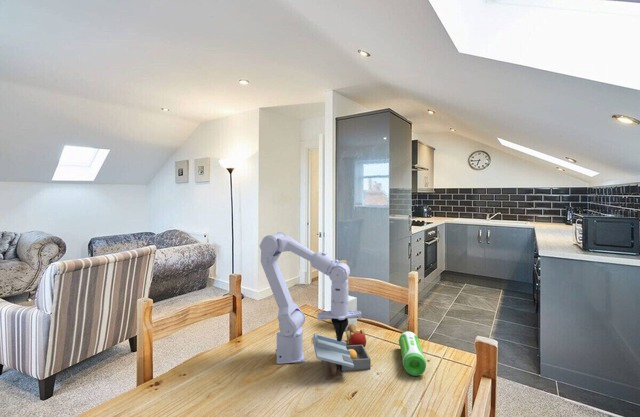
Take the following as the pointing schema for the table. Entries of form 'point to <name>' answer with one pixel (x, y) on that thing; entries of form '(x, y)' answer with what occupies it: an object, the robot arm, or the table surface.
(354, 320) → the supplement box
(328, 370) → the stand
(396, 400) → the table surface
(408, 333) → the speaker
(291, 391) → the table surface
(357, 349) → the grey open box
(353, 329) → the kendama
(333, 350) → the light blue flat piece
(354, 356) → the ball
